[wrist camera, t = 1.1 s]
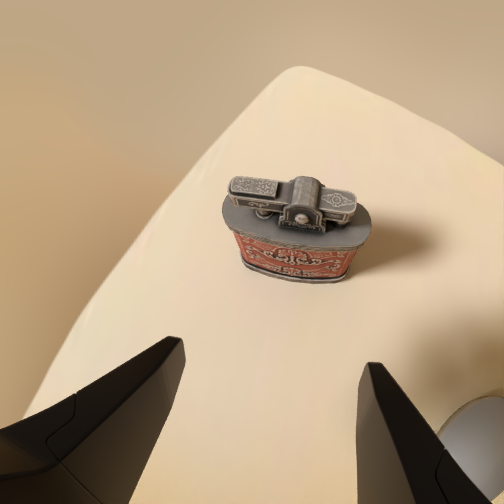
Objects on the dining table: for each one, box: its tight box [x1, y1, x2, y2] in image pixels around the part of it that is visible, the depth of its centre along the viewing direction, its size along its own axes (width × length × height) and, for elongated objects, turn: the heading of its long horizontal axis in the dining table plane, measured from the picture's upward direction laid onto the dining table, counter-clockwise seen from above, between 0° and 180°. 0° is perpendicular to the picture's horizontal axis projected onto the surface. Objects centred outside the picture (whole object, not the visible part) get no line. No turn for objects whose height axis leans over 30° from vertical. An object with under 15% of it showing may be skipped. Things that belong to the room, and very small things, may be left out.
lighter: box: [222, 176, 371, 284], centre depth 19 cm, size 8×3×10 cm, turn 78°
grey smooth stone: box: [436, 396, 504, 502], centre depth 15 cm, size 10×10×2 cm
